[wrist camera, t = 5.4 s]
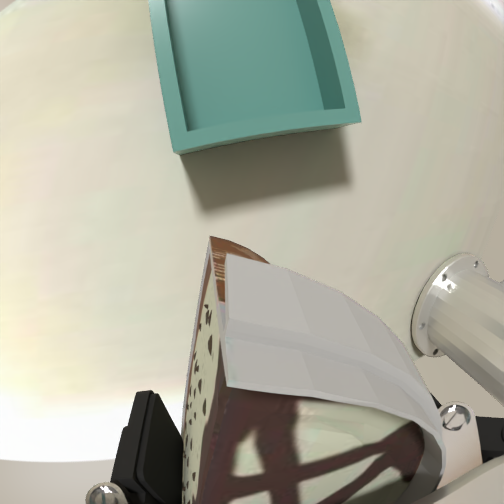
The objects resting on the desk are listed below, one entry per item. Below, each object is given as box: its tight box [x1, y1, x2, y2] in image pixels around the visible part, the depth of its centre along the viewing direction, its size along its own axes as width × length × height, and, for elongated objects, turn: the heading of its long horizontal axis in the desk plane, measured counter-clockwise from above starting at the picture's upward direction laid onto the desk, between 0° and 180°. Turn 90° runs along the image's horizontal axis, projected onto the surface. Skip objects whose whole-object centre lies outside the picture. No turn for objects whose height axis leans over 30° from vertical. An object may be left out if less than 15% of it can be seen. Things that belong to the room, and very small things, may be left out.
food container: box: [181, 236, 446, 504], centre depth 9 cm, size 12×6×10 cm, turn 168°
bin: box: [148, 0, 361, 155], centre depth 17 cm, size 12×18×4 cm, turn 11°
